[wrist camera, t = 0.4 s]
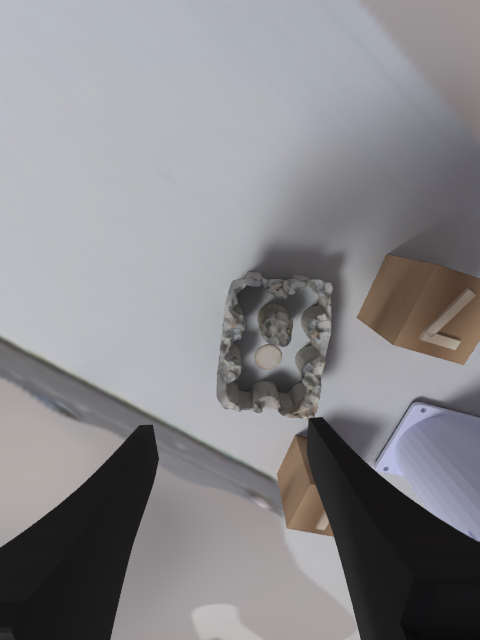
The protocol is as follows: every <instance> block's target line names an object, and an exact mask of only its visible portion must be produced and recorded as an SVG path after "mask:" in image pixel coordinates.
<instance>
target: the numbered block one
mask: <svg viewBox="0 0 480 640" xmlns="http://www.w3.org/2000/svg"><path fill="white" fill-rule="evenodd" d="M307 439H308V438H307V437H302V436H298V435H295V437H294V439H293V441H292V443H291V445H290V448H289V450H288V452H287V454H286V456H285V458H284V460H283V463H282V465H281V467H280V469H279V471H278V473H277V476H278V482H279V487H280V493H281V498H282V504H283V509H284V515H285V520H286V526H287V528H288V529H293V530H299V531H305V532H310V533H316V534H322V535H327V536H333V537H334V535H333V532H332V529H331V526H330V523H329V521H328V518H327V515H326V512H325V510H324V507H323V504H322V501H321V499H320V496H319V493H318V490H317V487H316V485H315V482H314V479H313V476H312V473H311V469H310V465H309V460H308V456H307Z"/></svg>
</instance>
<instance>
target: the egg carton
mask: <svg viewBox="0 0 480 640" xmlns="http://www.w3.org/2000/svg"><path fill="white" fill-rule="evenodd" d="M307 282H308V284H309V286H310V288H311V289H312V290H313V291H314V292H315V293H317V294H318V295H319V299H318V303H317V306H313V307H310V308H308V309H307V310H306V311H304V313H303V315H302V317H301V325H302V328H303V330H304V331H305V333H306V335H307V336H308V337H309V339H310V340H311V345H310V346H306V347H303V348H302V349H300V350H299V351H298V353H297V354H296V357H295V363H296V365H297V368H298V370H299V372H300V375H301V377H302V379H301V380H302V382H300V383H297V384H296V385H294V386H293V387H292V389H291V390H290V392H289V393H279V392H278V391H277V387H276V385H275V384H273V383H272V382H270V381H261V382H257V383H256V384H255V385H254V386H253V387H252V389H251V391H250V392H246V391H240V390H238V387H237V385H236V383H234V382H233V381H234V380H236V379H238V377H239V375H240V374H241V370H242V363H241V353H240V350H239V349H238V347H237V346H235V345H234V344H232V343H233V342H234V341H235V340H239V339H241V338H242V335H243V332H244V330H245V329H246V327H247V326H246V320H245V318H244V313H243V309H242V308H241V306H240V305H238V298H237V293H239V292H240V291H241V290H243V289H244V288H245V286H246V285H249V286H252V287H259V286H261V285H262V284H263V286H264V288H265V290H266V291H267V292H269V293H271V294H273V295H274V296H275V297H277V298H278V299H286V298H287V297H288V295H290V294H292V295H293V294H295V293H296V291H297V289H298V288H299V287H306V286H307ZM332 291H333V284H332V282H331V283H327V282H324V281H322V280H317V279H309V278H308V277H307V276H305V275H293V277H292V279H288V280H282V279H268V280H266V279H264V278H263V277H262V274H261V273H259V272H247V275H246V277H245V278H244V279H239V280H234V281H233V282H232V283H231V285H230V289H229V292H228V296H227V301H226V306H225V313H224V322H223V334H222V340H221V347H220V357H219V365H218V372H217V398H218V400H219V402H220V403H221V404H222V406H223V407H224V408H225V409H232V410H236V411H239V412H240V411H241V410H252V411H255V412H256V413H261V412H262V409H263V408H265V409H278V412H279V413H281V414H282V415H283V416H286V417H290V418H302V419H308V420H309V418H314V417H315V413H316V412H317V408H318V402H319V399H320V393H321V375H322V372H323V369H324V366H325V363H326V360H325V356H326V352H327V348H328V342H329V339H330V336H331V293H332ZM258 324H259V328H260V331H261V334H262V336H263V338H264V339H265V340H266V341H267V342H268V343H269V344H268V345H264V346H261V347H260V348H259V349H258V350H257V351H256V353H255V356H254V359H255V363H256V364H257V365H258V366H259V367H260V368H262V369H272V368H275V367H277V366H278V365H279V364H280V362H281V359H282V354H281V351H280V349H279V348H278V347H276V346H275V345H278V346H281V347H285V346H287V345H288V344H289V343H290V341H291V332H292V328H293V321H292V319H291V318H290V316H289V314H288V313H287V312H286V310H285V308H284V307H282V305H278V304H276V303H274V304H273V303H272V304H268V305H266V306H264V307H263V308H262V309H261V310H260V311H259V313H258ZM271 344H272V345H271ZM308 422H309V421H308Z"/></svg>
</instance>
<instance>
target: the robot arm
mask: <svg viewBox="0 0 480 640" xmlns="http://www.w3.org/2000/svg"><path fill="white" fill-rule="evenodd" d="M422 408H423V409H422ZM307 456H308V460H309V465H310V469H311V473H312V476H313V479H314V482H315V485H316V487H317V490H318V493H319V496H320V499H321V501H322V504H323V507H324V510H325V512H326V515H327V518H328V521H329V523H330V526H331V529H332V532H333V535H334V538H335V541H336V545H337V548H338V552H339V556H340V559H341V563H342V567H343V570H344V574H345V578H346V582H347V586H348V590H349V594H350V597H351V601H352V605H353V609H354V613H355V617H356V622H357V626H358V630H359V634H360V638H361V640H480V417H476V416H472V415H468V414H464V413H460V412H456V411H453V410H449V409H445V408H441V407H437V406H433V405H429V404H425V403H421V402H414V403H413V404H412V405H411V406H410V408H409V409H408V411H407V413H406V414H405V416H404V418H403V419H402V421H401V422H400V424H399V426H398V427H397V429H396V430H395V432H394V434H393V435H392V437H391V439H390V440H389V442H388V443H387V445H386V447H385V448H384V450H383V451H382V453H381V455H380V456H379V458H378V460H377V461H376V463H375V465H374V466H375V468H376V470H377V471H380V472H385V473H389V474H394V475H399V476H403V477H405V478H406V480H407V481H408V482H409V484H410V485H411V487H412V488H413V490H414V491H415V493H416V494H417V496H418V497H419V499H420V500H421V501H422V503H423V504H424V506H425V507H426V509H427V510H428V511H427V510H426V509H424V508H423V507H421V506H420V505H419V504H417V503H416V502H414V501H413V500H411V499H410V498H409V497H407V496H406V495H405V494H403V493H402V492H400V491H399V490H398V489H397V488H395V487H394V486H393V485H392V484H390V483H389V482H388V481H387V480H385V479H384V478H383V477H382V476H380V475H379V474H378V473H377V472H376V471H375V470H374V469H372V468H371V467H370V466H369V465H368V464H367V463H366V462H365V461H364V460H363V459H362V458H361V457H360V456H358V455H357V454H356V453H355V452H354V451H353V450H352V449H351V448H350V447H349V446H348V445H347V444H346V442H345V441H344V440H343V439H342V438H341V437H340V436H339V435H338V434H337V433H336V432H335V431H334V430H333V429H332V427H331V426H330V425H329V424H328V423H327V422H326V421H325V420H324V419H323V418H322V417H318V418H309V424H308V439H307ZM158 461H159V457H158V451H157V446H156V440H155V434H154V429H153V425H139V426H138V427H137V429H136V430H135V431H134V432H133V433H132V434H131V435H130V436H129V437H128V438H127V439H126V441H125V442H124V443H123V444H122V445H121V446H120V447H119V448H118V449H117V450H116V451H115V452H114V454H113V455H112V456H111V457H110V458H109V459H108V460H107V461H106V462H105V463H104V464H103V465H102V466H101V467H100V468H99V469H98V470H97V471H96V472H95V473H94V474H93V475H92V476H91V477H90V478H89V479H88V480H87V481H86V482H85V483H84V484H83V485H81V486H80V487H79V488H78V489H77V490H76V491H75V492H73V493H72V494H71V495H70V496H69V497H68V498H66V499H65V500H64V501H63V502H62V503H60V504H59V505H58V506H57V507H55V508H54V509H53V510H52V511H50V512H49V513H48V514H46V515H45V516H44V517H43V518H41V519H40V520H38V522H36V523H35V524H33V525H32V526H31V527H29V528H28V529H27V530H25V531H24V532H22V533H21V534H20V535H18V536H17V537H15V538H14V539H12V540H11V541H9V542H8V543H6V544H5V545H3V546H2V547H0V640H110V638H111V634H112V629H113V625H114V620H115V615H116V611H117V607H118V602H119V598H120V594H121V589H122V585H123V581H124V577H125V573H126V569H127V565H128V561H129V557H130V553H131V550H132V546H133V543H134V540H135V537H136V533H137V531H138V528H139V525H140V522H141V519H142V516H143V513H144V510H145V507H146V504H147V501H148V498H149V495H150V492H151V489H152V486H153V483H154V479H155V475H156V470H157V466H158Z"/></svg>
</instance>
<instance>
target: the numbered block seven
mask: <svg viewBox="0 0 480 640" xmlns="http://www.w3.org/2000/svg"><path fill="white" fill-rule="evenodd" d="M357 318H358V319H359V320H360V321H362V322H363V323H364V324H366V325H367V326H369V327H370V328H371V329H373V330H374V331H375V332H377V333H378V334H379V335H381V336H382V337H383V338H385V339H386V340H387V341H389V342H390V343H391V344H393V345H395V346H399V347H402V348H406V349H409V350H413V351H416V352H420V353H423V354H427V355H430V356H434V357H437V358H441V359H444V360H448V361H451V362H455V363H459V364H462V365H464V364H465V362H466V361H467V359H468V358H469V356H470V355H471V353H472V351H473V350H474V348H475V347H476V345H477V344H478V342H479V341H480V279H479V278H476V277H473V276H470V275H467V274H464V273H461V272H458V271H455V270H452V269H449V268H446V267H443V266H440V265H438V264H433V263H428V262H423V261H418V260H413V259H408V258H403V257H398V256H393V255H386V257H385V259H384V261H383V263H382V265H381V268H380V270H379V272H378V274H377V276H376V278H375V280H374V282H373V284H372V286H371V289H370V291H369V293H368V295H367V297H366V299H365V301H364V303H363V305H362V308H361V310H360V312H359V314H358V316H357Z"/></svg>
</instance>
